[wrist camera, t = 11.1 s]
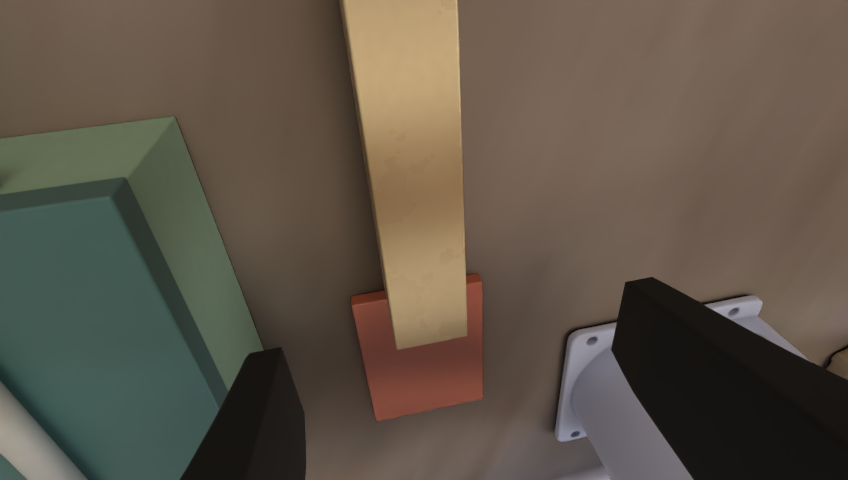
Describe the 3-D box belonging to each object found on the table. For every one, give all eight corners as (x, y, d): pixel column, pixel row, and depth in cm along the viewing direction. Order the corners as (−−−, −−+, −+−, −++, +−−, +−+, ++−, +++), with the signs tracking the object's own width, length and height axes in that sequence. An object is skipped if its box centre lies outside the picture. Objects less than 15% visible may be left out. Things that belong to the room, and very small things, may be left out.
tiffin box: (174, 93, 13) (79, 199, 8) (283, 386, 19) (271, 546, 14) (-158, 134, 12) (-525, 288, 7) (78, 426, 18) (-12, 613, 13)
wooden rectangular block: (479, 388, 22) (501, 450, 19) (374, 411, 21) (383, 477, 19) (475, -66, 12) (519, -66, 9) (276, -47, 11) (265, -42, 9)
